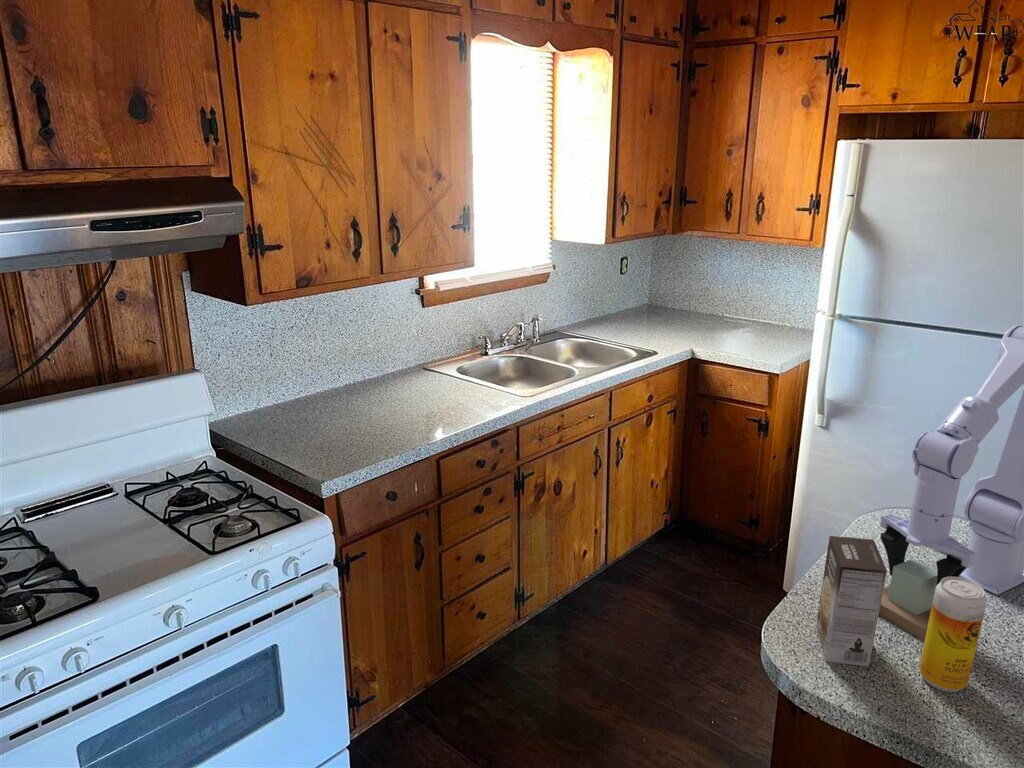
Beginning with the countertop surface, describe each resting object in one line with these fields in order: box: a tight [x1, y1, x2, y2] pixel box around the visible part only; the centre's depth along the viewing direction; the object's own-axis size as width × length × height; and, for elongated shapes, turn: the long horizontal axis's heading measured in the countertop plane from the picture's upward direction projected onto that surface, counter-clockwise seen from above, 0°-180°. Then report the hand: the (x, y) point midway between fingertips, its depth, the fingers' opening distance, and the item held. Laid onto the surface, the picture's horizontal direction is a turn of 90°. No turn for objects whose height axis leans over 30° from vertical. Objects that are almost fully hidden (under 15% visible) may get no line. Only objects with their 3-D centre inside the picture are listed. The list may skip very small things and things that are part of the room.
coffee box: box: [815, 535, 888, 667], centre depth 113 cm, size 9×6×16 cm
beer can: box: [918, 577, 988, 693], centre depth 106 cm, size 6×6×15 cm
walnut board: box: [879, 585, 931, 641], centre depth 123 cm, size 10×10×2 cm
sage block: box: [888, 558, 937, 615], centre depth 122 cm, size 5×5×6 cm
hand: (917, 585), depth 122 cm, fingers open, 7 cm apart
